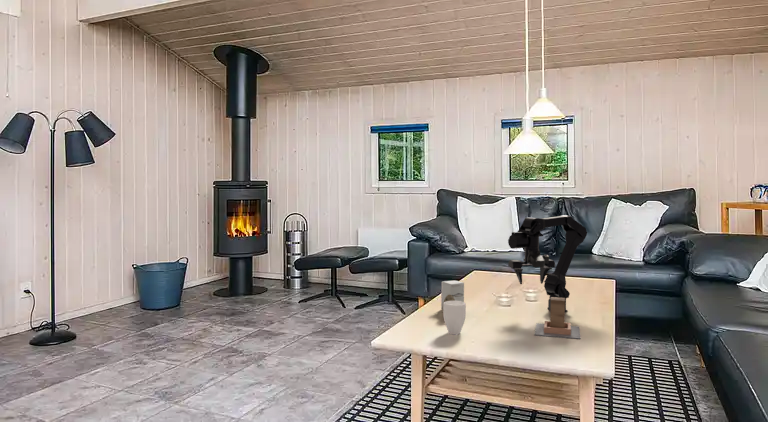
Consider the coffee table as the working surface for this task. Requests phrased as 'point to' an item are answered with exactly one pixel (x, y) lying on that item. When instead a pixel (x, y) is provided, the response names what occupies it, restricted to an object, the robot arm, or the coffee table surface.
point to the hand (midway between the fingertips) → (531, 283)
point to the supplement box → (452, 290)
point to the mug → (454, 316)
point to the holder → (557, 331)
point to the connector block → (557, 312)
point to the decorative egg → (448, 299)
